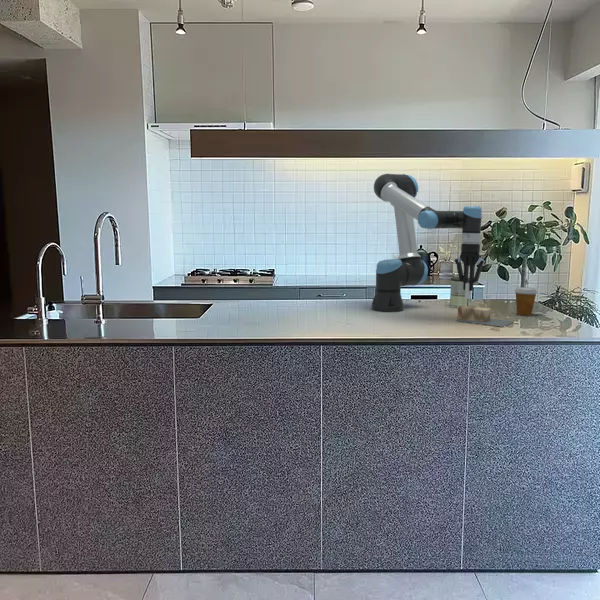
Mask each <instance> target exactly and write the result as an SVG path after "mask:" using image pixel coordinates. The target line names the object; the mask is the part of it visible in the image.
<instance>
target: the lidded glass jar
mask: <svg viewBox="0 0 600 600" xmlns="http://www.w3.org/2000/svg"><path fill="white" fill-rule="evenodd" d="M468 281H469V276H468ZM468 283H469V282H468ZM463 284H464V283H463V282H462V281H459V276H452V277H450V296H449V297H450V298H449V307H450V306H451V308H454V307H457V308H456V309H458V307H461V306H471V307H472V296H473V294H472V293H473V292H472V291H471V298H469V299H466V298H465V290H463Z"/></svg>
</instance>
